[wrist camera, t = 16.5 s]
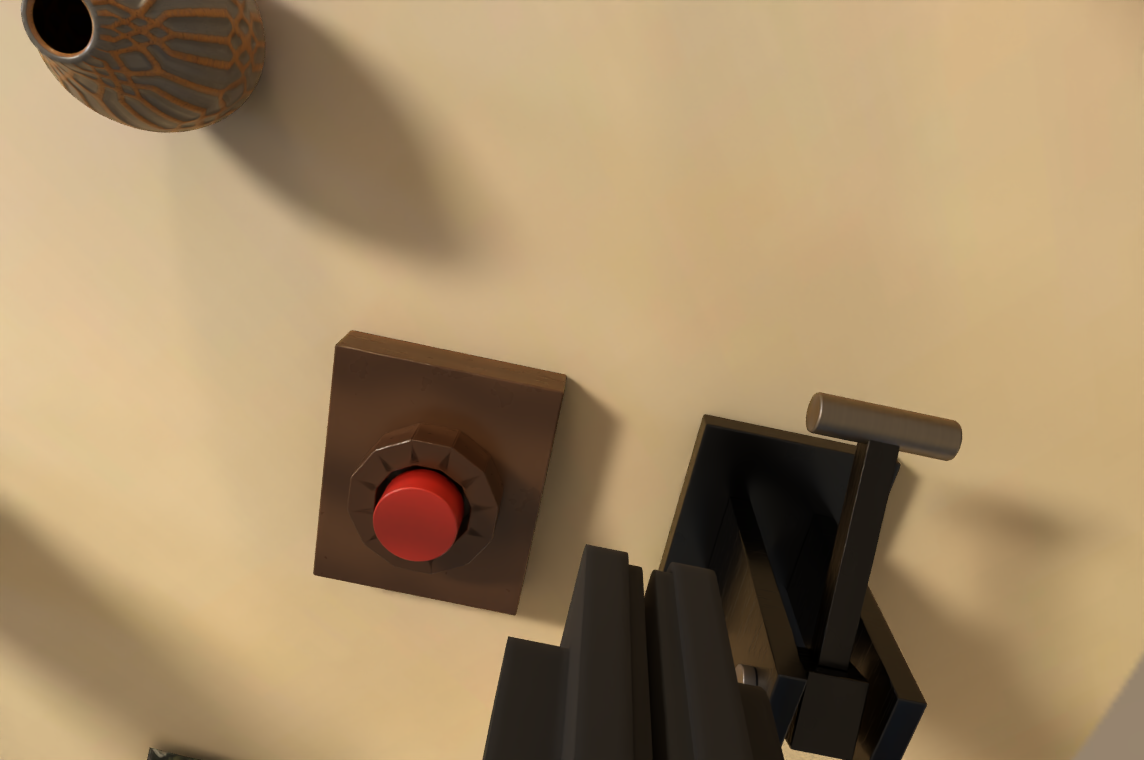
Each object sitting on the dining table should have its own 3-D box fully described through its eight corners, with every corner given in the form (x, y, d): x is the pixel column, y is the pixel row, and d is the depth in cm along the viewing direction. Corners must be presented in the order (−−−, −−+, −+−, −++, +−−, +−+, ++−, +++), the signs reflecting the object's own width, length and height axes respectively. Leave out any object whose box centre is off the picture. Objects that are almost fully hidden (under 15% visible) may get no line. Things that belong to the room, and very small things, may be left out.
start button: (388, 460, 34) (376, 479, 32) (470, 477, 34) (463, 497, 32) (379, 531, 35) (367, 553, 33) (458, 546, 35) (450, 569, 33)
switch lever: (806, 389, 28) (829, 394, 26) (940, 417, 29) (974, 424, 26) (734, 708, 29) (750, 741, 27) (865, 734, 29) (892, 770, 27)
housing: (350, 329, 35) (319, 358, 32) (567, 374, 36) (561, 408, 32) (328, 549, 40) (298, 598, 36) (521, 588, 40) (511, 641, 36)
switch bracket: (703, 413, 36) (746, 578, 24) (893, 452, 36) (1029, 636, 24) (647, 606, 40) (661, 830, 28) (819, 640, 40) (904, 877, 28)
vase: (322, 80, 32) (220, 81, 23) (184, 154, 33) (42, 180, 25) (227, -97, 30) (79, -164, 21) (84, -11, 31) (-107, -43, 23)
